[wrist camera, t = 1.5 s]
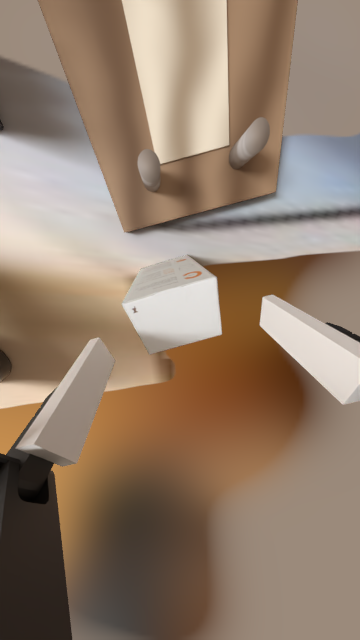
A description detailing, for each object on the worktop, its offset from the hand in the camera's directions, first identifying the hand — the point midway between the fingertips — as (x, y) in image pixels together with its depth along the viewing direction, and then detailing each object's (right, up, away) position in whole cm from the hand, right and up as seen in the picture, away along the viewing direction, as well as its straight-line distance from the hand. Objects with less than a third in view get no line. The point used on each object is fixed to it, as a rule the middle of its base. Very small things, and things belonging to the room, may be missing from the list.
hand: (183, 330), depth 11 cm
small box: (-2, +8, +12) cm, 15 cm away
